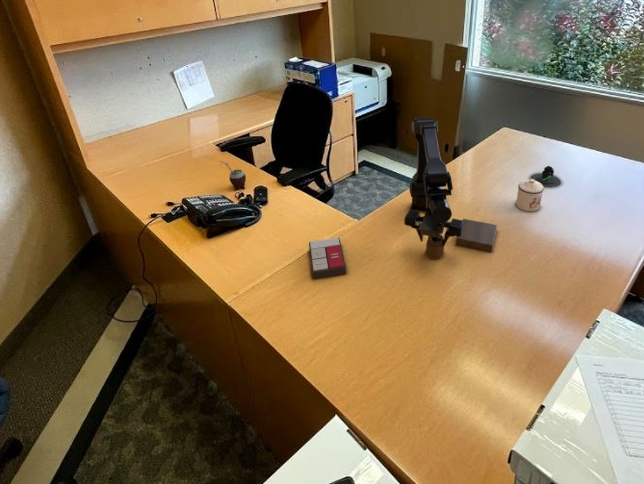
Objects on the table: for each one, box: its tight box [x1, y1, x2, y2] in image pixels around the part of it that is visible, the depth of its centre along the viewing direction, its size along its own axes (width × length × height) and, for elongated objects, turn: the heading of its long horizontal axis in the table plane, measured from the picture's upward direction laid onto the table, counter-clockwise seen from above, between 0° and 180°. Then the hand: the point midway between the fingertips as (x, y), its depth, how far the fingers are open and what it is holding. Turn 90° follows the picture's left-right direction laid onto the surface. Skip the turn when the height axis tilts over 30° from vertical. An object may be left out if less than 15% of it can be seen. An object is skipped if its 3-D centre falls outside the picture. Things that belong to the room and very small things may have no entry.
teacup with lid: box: [515, 178, 545, 212], centre depth 160 cm, size 12×9×12 cm
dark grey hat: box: [529, 165, 562, 188], centre depth 175 cm, size 12×12×12 cm
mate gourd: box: [219, 160, 247, 191], centre depth 185 cm, size 8×8×15 cm
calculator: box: [308, 237, 347, 280], centre depth 140 cm, size 11×4×15 cm
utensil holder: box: [425, 229, 445, 259], centre depth 138 cm, size 6×6×12 cm
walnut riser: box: [455, 218, 498, 253], centre depth 146 cm, size 12×12×3 cm
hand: (432, 243), depth 139 cm, fingers closed on utensil holder, 7 cm apart
